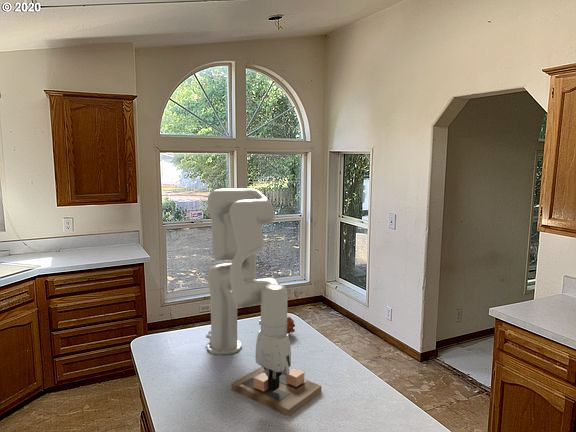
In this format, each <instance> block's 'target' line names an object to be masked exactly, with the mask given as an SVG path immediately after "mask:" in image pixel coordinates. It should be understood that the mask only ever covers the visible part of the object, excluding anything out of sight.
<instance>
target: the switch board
mask: <svg viewBox="0 0 576 432" xmlns="http://www.w3.org/2000/svg"><path fill="white" fill-rule="evenodd" d="M261 373H265V374H266V371H265V369H264V367H262V366H260V367H259V368H257V369H255V370H253V371H252V372H249V373H247V374H245V375H244V376H242V377H240V378H238V379H237V380H235V381H233V382H231V384H230V385H231V391H233V392H235V393H238V394H240V395H242V396H244V397H246V398H248V399H250V400H253V401H255V402H257V403H259V404H261V405H263V406H265V407H268V408H269V409H271V410H274V411H276V412H278V413H280V414H282V415H284V416H286V417H290V416H291V415H293V414H294V413H296V411H298V410H300V409H301V408H302V407H303V406H305V405H306V404H308V403H309V402H310V401H311V400H313V399H315V397H317V396H318V395H320V394H321V393H322V385H321V384H318V383H315V382H313V381H311V380H308V379H305V378H304V382H303V383H302V384H300V385H299V386H297V387H295V386H293V385H290V384H288V383H286V375H281V376H279V388H278V389H276V390H275V391H273V392H272V391H271V390H268V389H267V390H266V391H261V390H259V389H257V388H255V387H254V377H256V376H257V375H259V374H261Z"/></svg>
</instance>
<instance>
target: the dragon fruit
mask: <svg viewBox="0 0 576 432" xmlns="http://www.w3.org/2000/svg"><path fill="white" fill-rule="evenodd" d="M295 327H296V323H295V320H294V319H293V318H291V316H287V334H288V335H289V336H290V335H291V334H293V333H295V332H296V331H295V330H296V329H295Z"/></svg>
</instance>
